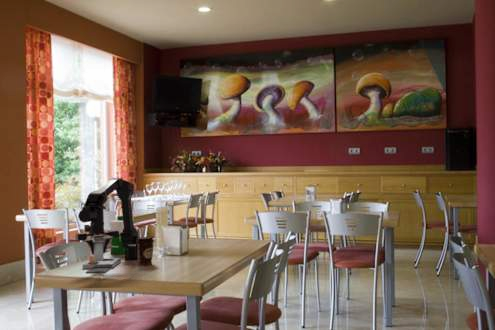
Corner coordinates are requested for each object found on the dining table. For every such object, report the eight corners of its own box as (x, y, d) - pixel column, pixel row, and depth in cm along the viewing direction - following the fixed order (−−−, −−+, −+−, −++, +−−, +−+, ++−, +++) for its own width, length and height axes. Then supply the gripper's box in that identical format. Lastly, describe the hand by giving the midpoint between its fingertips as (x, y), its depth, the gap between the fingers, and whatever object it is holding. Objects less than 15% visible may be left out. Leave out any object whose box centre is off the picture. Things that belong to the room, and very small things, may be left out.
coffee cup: (158, 263, 264) (157, 236, 264) (149, 266, 256) (148, 239, 256) (142, 262, 267) (141, 236, 267) (133, 265, 259) (132, 238, 259)
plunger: (98, 263, 259) (97, 254, 259) (96, 265, 256) (95, 256, 256) (90, 264, 259) (90, 254, 259) (88, 265, 256) (88, 256, 256)
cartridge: (105, 260, 248) (104, 241, 248) (94, 261, 245) (93, 243, 245) (102, 259, 252) (101, 240, 252) (91, 260, 249) (90, 241, 249)
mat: (110, 268, 253) (110, 267, 253) (105, 272, 244) (105, 271, 244) (91, 269, 253) (91, 268, 253) (85, 273, 244) (85, 272, 244)
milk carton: (131, 252, 299) (130, 216, 298) (121, 255, 290) (120, 217, 290) (117, 251, 302) (116, 215, 302) (107, 254, 293) (106, 217, 293)
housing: (120, 262, 270) (120, 258, 270) (112, 268, 254) (112, 264, 254) (92, 262, 270) (92, 258, 270) (82, 269, 254) (82, 264, 254)
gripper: (112, 217, 260) (113, 249, 260) (72, 220, 251) (73, 253, 251) (119, 219, 250) (120, 252, 250) (77, 222, 241) (78, 257, 241)
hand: (98, 254), depth 249 cm, fingers closed on cartridge, 5 cm apart
